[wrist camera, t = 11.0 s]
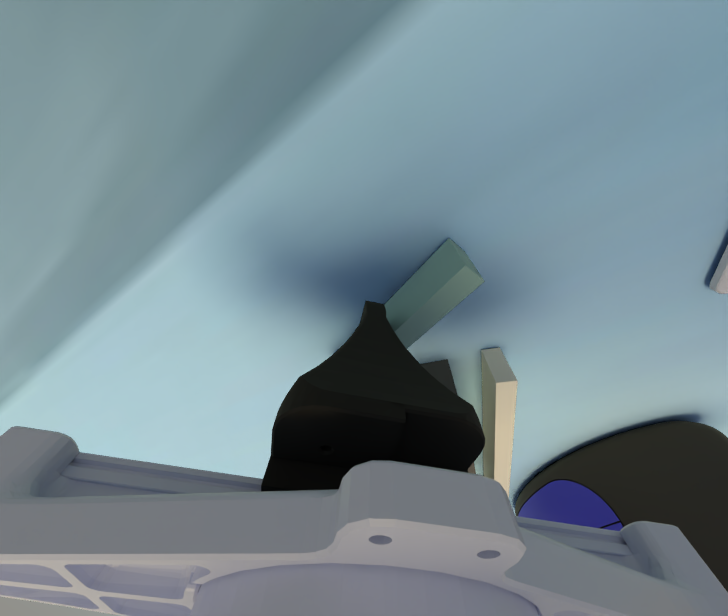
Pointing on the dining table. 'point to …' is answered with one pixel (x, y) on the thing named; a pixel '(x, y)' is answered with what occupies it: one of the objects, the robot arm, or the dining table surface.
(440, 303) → the sage green post
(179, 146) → the dining table surface
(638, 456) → the leaning round-cornered charcoal block
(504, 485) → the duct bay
